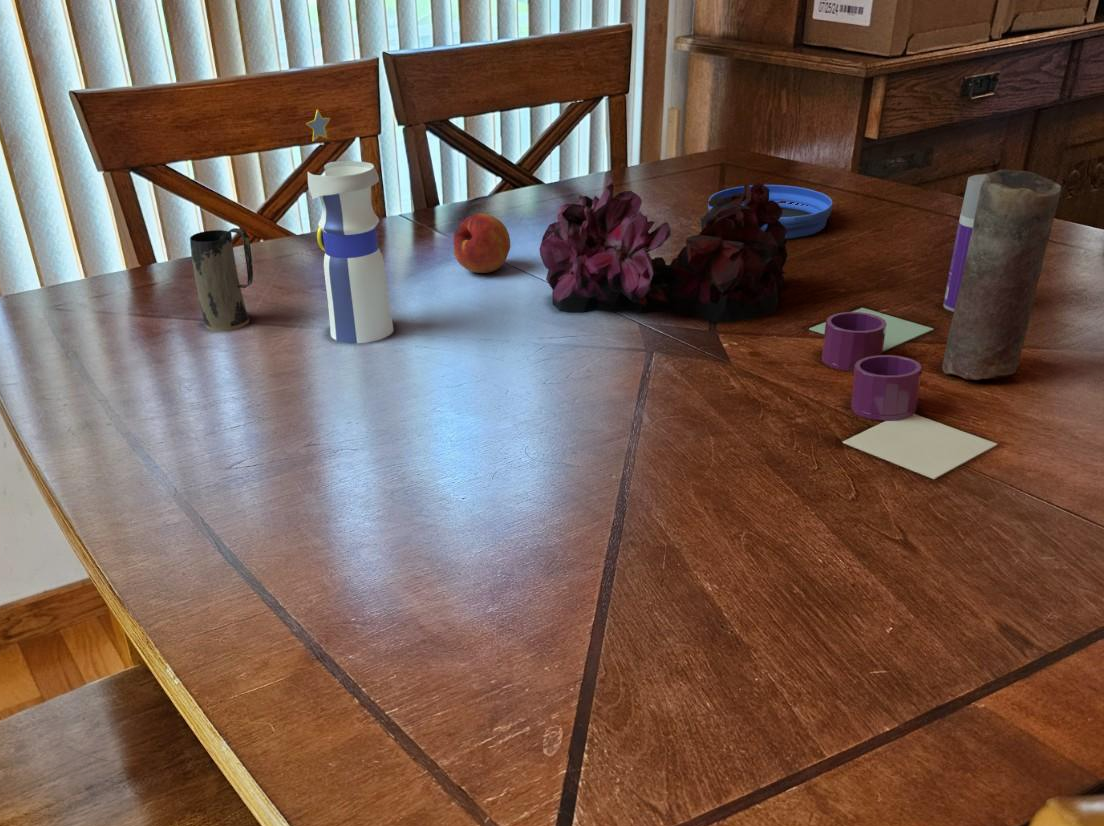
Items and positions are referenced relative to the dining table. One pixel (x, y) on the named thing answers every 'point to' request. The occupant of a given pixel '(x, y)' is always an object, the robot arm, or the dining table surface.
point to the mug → (220, 278)
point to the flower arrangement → (649, 284)
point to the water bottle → (350, 248)
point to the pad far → (890, 329)
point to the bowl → (794, 208)
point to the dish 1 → (852, 339)
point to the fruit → (481, 243)
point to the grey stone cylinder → (1000, 274)
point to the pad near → (920, 445)
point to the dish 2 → (885, 387)
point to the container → (962, 239)
